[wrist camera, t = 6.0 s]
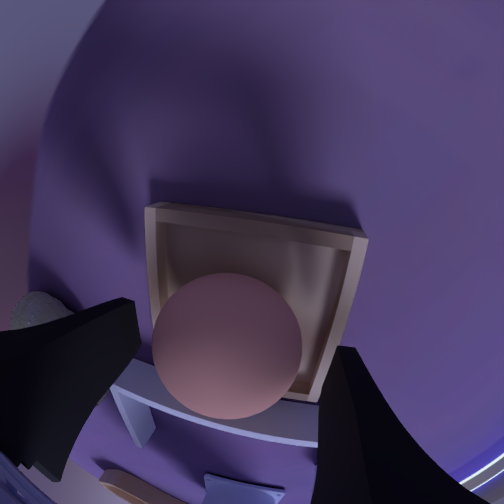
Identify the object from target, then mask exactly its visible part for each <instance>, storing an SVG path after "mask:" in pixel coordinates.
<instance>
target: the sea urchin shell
mask: <svg viewBox="0 0 504 504" xmlns="http://www.w3.org/2000/svg"><path fill="white" fill-rule="evenodd" d="M12 314H13V316H12V318H11V320H12V321H11V330H16V329H22V328H27V327H31V326H36V325H40V324H43V323H47V322H50V321H53V320H56V319H59V318H62V317H66V316H69V315H72V314H74V312H72V311H70V310H69V309H68V308H66V307H65V306H64V304H62V302H61V301H60V300H58V299H56V298H54V297H52V296H51V295H49V294H48V293H45V292H41V291H36V292H35V291H32V292H30V293H28V294H26V295H25V296H23V298H22V299H21V300H20V301H19V302H18V304H17V305H16V306H15V309H14V311H13V312H12ZM108 391H109V390H108ZM108 391H107V392H108ZM107 392H106V393H105V394H104V396H103V397H102V398H101V399H100V401H99V402H98V403H97V405H98V404H99V403H100V402H102V401H103V399H105V396H106V395H107Z"/></svg>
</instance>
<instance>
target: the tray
mask: <svg viewBox="0 0 504 504" xmlns="http://www.w3.org/2000/svg"><path fill="white" fill-rule="evenodd" d="M145 241H146V260H147V274H148V286H149V297H150V306H151V315H152V323H153V330H154V326H155V322H156V319H157V317H158V315H159V313H160V311H161V309H162V307H163V306H164V304H165V303H166V302H167V300H168V299H169V298H170V297H171V296H172V295H173V294H174V293H175V292H176V291H177V290H178V289H180V288H181V287H182V286H184V285H185V284H187V283H189V282H191V281H193V280H195V279H197V278H199V277H202V276H206V275H210V274H216V273H235V274H241V275H246V276H249V277H252V278H255V279H257V280H259V281H261V282H263V283H265V284H267V285H268V286H270V287H271V288H273V289H274V290H275V291H276V292H277V293H279V294H280V295H281V296H282V297H283V298H284V299H285V301H286V302H287V303H288V305H289V306H290V307H291V309H292V311H293V313H294V315H295V317H296V318H297V321H298V324H299V327H300V331H301V336H302V358H301V363H300V368H299V370H298V373H297V375H296V378H295V380H294V382H293V383H292V385H291V386H290V388H289V389H288V391H287V392H286V393H285V394H284V395H283V396H282V397H283V398H289V399H296V400H302V401H309V402H317V401H318V399H319V396H320V394H321V388H322V385H323V382H324V380H325V377H326V375H327V372H328V369H329V367H330V364H331V361H332V359H333V356H334V353H335V350H336V347H337V345H338V346H339V344H340V341H341V338H342V335H343V332H344V329H345V326H346V323H347V320H348V316H349V313H350V310H351V307H352V303H353V300H354V296H355V293H356V289H357V285H358V282H359V278H360V274H361V270H362V266H363V262H364V258H365V254H366V249H367V245H368V241H369V239H368V237H367V235H366V234H365V232H364V231H363V230H362V229H357V228H351V227H345V226H339V225H334V224H328V223H322V222H315V221H309V220H303V219H296V218H290V217H283V216H276V215H269V214H262V213H255V212H248V211H240V210H232V209H224V208H216V207H208V206H199V205H190V204H181V203H171V202H158V203H155V204H152V205H149V206H146V207H145Z"/></svg>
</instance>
